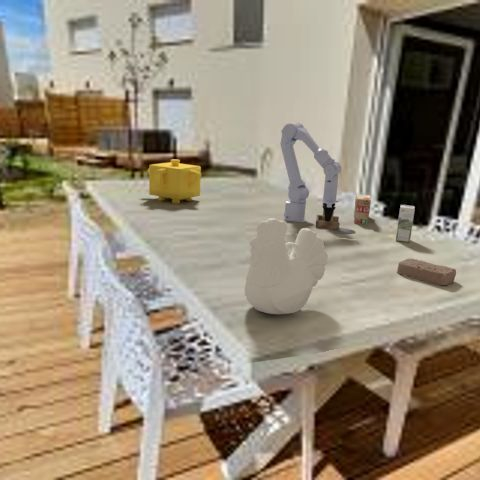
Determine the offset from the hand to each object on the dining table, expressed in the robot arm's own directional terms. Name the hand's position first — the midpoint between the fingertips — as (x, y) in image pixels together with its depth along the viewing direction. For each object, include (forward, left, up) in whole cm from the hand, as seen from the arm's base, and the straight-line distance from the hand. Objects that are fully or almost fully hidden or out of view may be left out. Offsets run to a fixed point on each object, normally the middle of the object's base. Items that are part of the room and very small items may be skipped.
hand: (327, 220), depth 228 cm
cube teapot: (-80, +32, -3) cm, 86 cm away
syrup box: (+31, -14, -3) cm, 34 cm away
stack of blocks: (+16, +19, -3) cm, 25 cm away
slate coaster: (+7, -9, -3) cm, 12 cm away
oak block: (0, 0, -2) cm, 2 cm away
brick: (+32, -60, -3) cm, 68 cm away
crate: (0, 0, -3) cm, 3 cm away
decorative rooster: (-10, -99, -3) cm, 99 cm away
